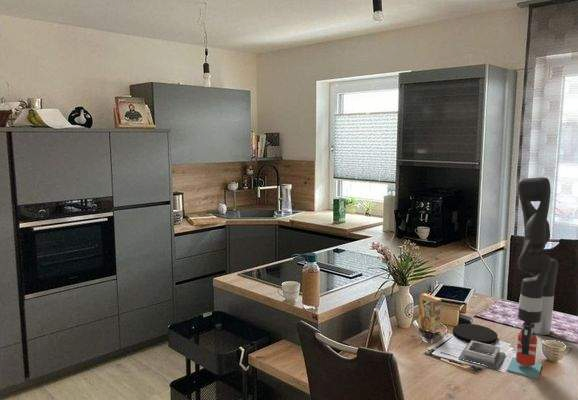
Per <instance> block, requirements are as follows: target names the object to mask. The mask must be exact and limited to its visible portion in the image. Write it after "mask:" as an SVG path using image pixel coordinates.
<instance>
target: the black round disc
mask: <svg viewBox="0 0 578 400" xmlns="http://www.w3.org/2000/svg"><path fill="white" fill-rule="evenodd" d="M452 335H453V336H454V337H455V338H456V339H458V340H459V341H462V342H463V343H467V344H469V343H470V342H471V340H472V341H477V342H481V343H485V344H490V345H494V344H496V343H497V342H496V341H498V334H497V332H496V331H495V330H493V329H492V328H490V327H487V326H483V325H480V324H474V323H459V324H456V325H454V326H453V327H452ZM493 343H494V344H493Z"/></svg>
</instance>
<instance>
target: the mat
mask: <svg viewBox="0 0 578 400" xmlns="http://www.w3.org/2000/svg"><path fill="white" fill-rule="evenodd" d="M542 365H543V364H542V363H538V362H535V365H533V366H530V367H526V366H522V365H520V364H519V363H518V362H517V361H516V356H513V357H512V358H511V360H510V363H509V365H508V367H507V369H506V371H507V372H510V373H513V374H517V375H521V376H525V377H528V378H531V379H535V380H538V379H539V376H540V373H541V370H542V367H543V366H542Z"/></svg>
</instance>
